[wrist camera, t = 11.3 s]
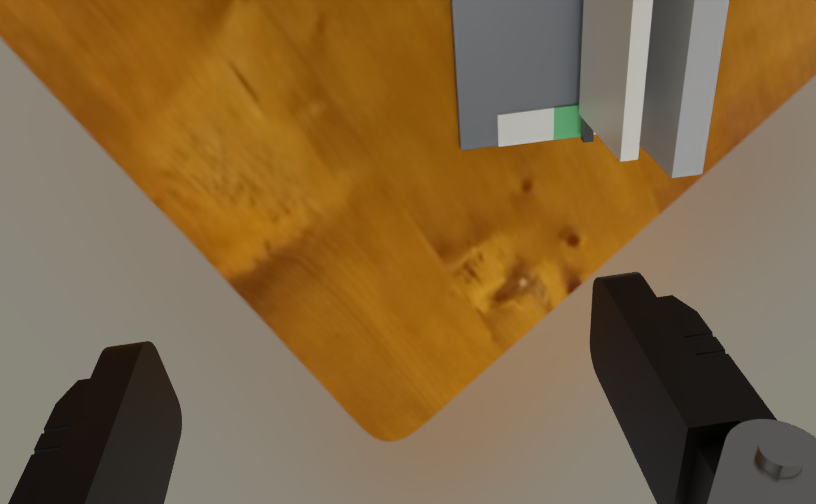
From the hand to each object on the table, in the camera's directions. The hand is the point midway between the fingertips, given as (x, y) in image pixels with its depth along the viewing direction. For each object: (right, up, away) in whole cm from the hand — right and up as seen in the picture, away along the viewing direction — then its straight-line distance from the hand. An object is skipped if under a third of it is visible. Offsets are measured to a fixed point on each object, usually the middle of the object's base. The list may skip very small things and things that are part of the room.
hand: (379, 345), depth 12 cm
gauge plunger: (+10, +12, +21) cm, 26 cm away
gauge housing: (+8, +13, +21) cm, 26 cm away
